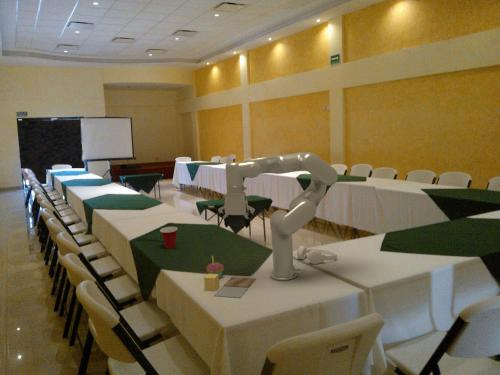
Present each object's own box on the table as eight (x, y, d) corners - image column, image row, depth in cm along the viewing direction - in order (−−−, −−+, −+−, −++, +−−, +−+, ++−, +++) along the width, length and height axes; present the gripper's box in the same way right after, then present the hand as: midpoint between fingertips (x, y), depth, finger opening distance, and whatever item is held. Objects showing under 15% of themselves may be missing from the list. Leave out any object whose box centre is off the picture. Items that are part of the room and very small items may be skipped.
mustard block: (219, 287, 190) (218, 274, 189) (215, 291, 185) (214, 278, 184) (209, 286, 191) (208, 273, 190) (204, 290, 186) (204, 277, 186)
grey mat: (248, 288, 186) (248, 287, 186) (240, 298, 176) (240, 297, 176) (222, 286, 190) (222, 286, 190) (213, 296, 179) (213, 295, 179)
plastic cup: (158, 249, 256) (156, 230, 254) (166, 244, 266) (165, 226, 264) (174, 250, 252) (172, 231, 251) (182, 245, 263) (180, 226, 261)
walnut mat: (255, 279, 197) (255, 278, 197) (248, 287, 187) (248, 287, 187) (231, 277, 201) (231, 276, 201) (223, 285, 191) (223, 285, 191)
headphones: (315, 252, 210) (343, 250, 221) (292, 244, 225) (319, 243, 237) (314, 266, 211) (342, 263, 222) (291, 257, 226) (318, 256, 237)
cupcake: (219, 281, 197) (218, 256, 195) (203, 279, 200) (201, 255, 198) (227, 275, 205) (225, 251, 203) (211, 273, 208) (210, 250, 206)
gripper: (255, 188, 189) (257, 225, 191) (220, 188, 194) (222, 224, 197) (251, 190, 182) (252, 229, 184) (214, 191, 187) (216, 228, 190)
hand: (237, 226), depth 190 cm, fingers open, 9 cm apart
